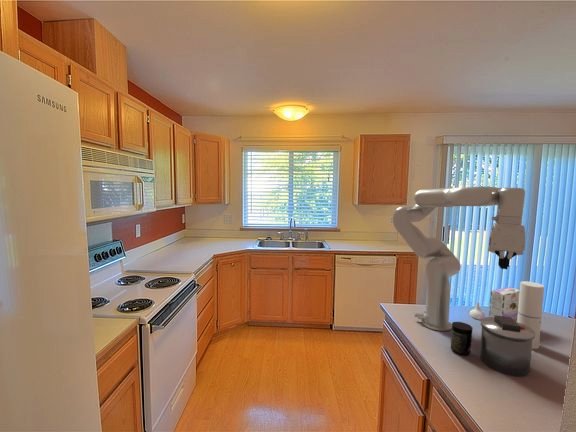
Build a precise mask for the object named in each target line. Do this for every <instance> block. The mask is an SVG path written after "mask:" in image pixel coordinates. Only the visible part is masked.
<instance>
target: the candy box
mask: <svg viewBox="0 0 576 432" xmlns="http://www.w3.org/2000/svg"><path fill="white" fill-rule="evenodd" d="M519 293H520V288H519V289H518V288H515V287H511V286H509V287H504V288H499V289H493V290H490V301H489V303H490V304H489V305H490V306H489V314H488V317H494V315H497V316H505V317H511V318H512V319H513V320H514V321H515V322H517V317H518V305H519Z"/></svg>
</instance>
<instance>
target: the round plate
mask: <svg viewBox="0 0 576 432" xmlns="http://www.w3.org/2000/svg"><path fill="white" fill-rule="evenodd" d="M480 326H481V328H482V327H483V328H485V329H486V330H488V331H490V332H492V333H494V334H497V335H500V336H503V337H507V338H512V339H518V340H531V339H534V337H535V332H534V330H532V329H531V328H530V327H528V326H526V325H524V324H521V323H518V322H515V321H514V320H513V319H512V318H511V317H505V316H497V315H494V317H489V316H485V318H482V319H481V320H480Z"/></svg>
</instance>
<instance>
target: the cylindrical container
mask: <svg viewBox="0 0 576 432" xmlns="http://www.w3.org/2000/svg"><path fill="white" fill-rule="evenodd" d="M519 290H520V293H519V305H518V317H517V322H518V323H521V324H524V325H526V326H528V327H530V328H531V329H532V330H534V332H535V337H534V339H532V350H537V349H540V338H541V329H542V328H541V327H542V318H543V316H542V315H543V306H544V305H543V303H544V295H545V294H544V293H545V285H544V284H542V283H538V282H533V281H527V280H526V281H525V280H524V281H520V283H519Z"/></svg>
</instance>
